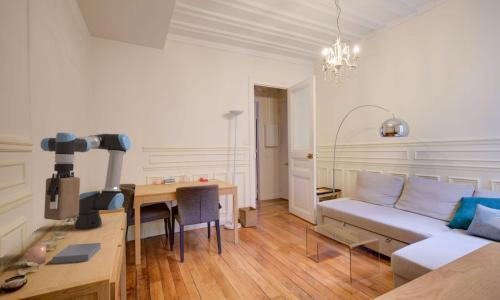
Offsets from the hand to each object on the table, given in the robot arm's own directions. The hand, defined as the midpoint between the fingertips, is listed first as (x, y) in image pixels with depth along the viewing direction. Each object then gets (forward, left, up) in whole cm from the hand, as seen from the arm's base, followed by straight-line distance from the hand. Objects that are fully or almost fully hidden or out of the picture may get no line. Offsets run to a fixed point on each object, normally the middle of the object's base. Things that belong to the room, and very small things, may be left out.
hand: (62, 205), depth 112 cm
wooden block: (0, 0, -6) cm, 6 cm away
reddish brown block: (+12, -3, -23) cm, 26 cm away
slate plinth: (+6, +11, -23) cm, 26 cm away
